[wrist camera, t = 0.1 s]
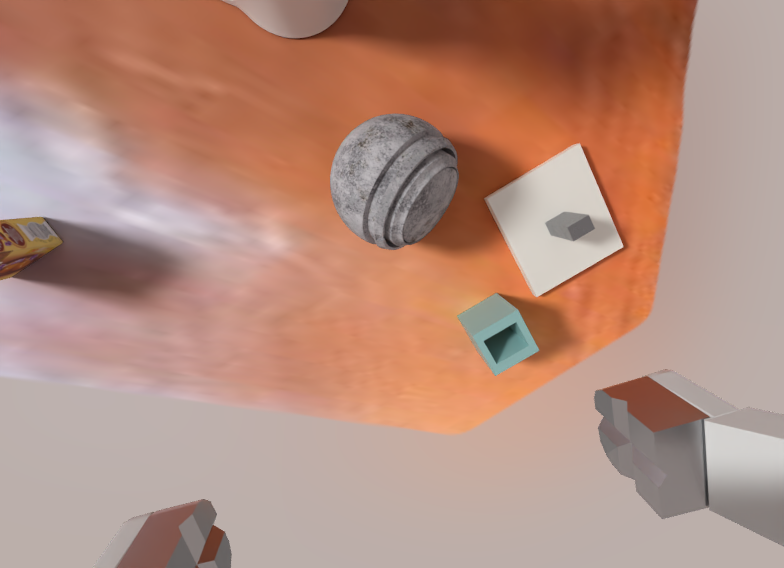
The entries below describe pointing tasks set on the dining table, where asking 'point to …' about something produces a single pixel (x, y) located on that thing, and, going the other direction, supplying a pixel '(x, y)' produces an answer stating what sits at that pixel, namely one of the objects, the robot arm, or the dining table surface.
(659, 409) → the robot arm
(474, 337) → the teal square hollow box
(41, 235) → the candy box
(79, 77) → the dining table surface
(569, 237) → the grey rectangular block
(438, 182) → the decorative orb
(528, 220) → the board
